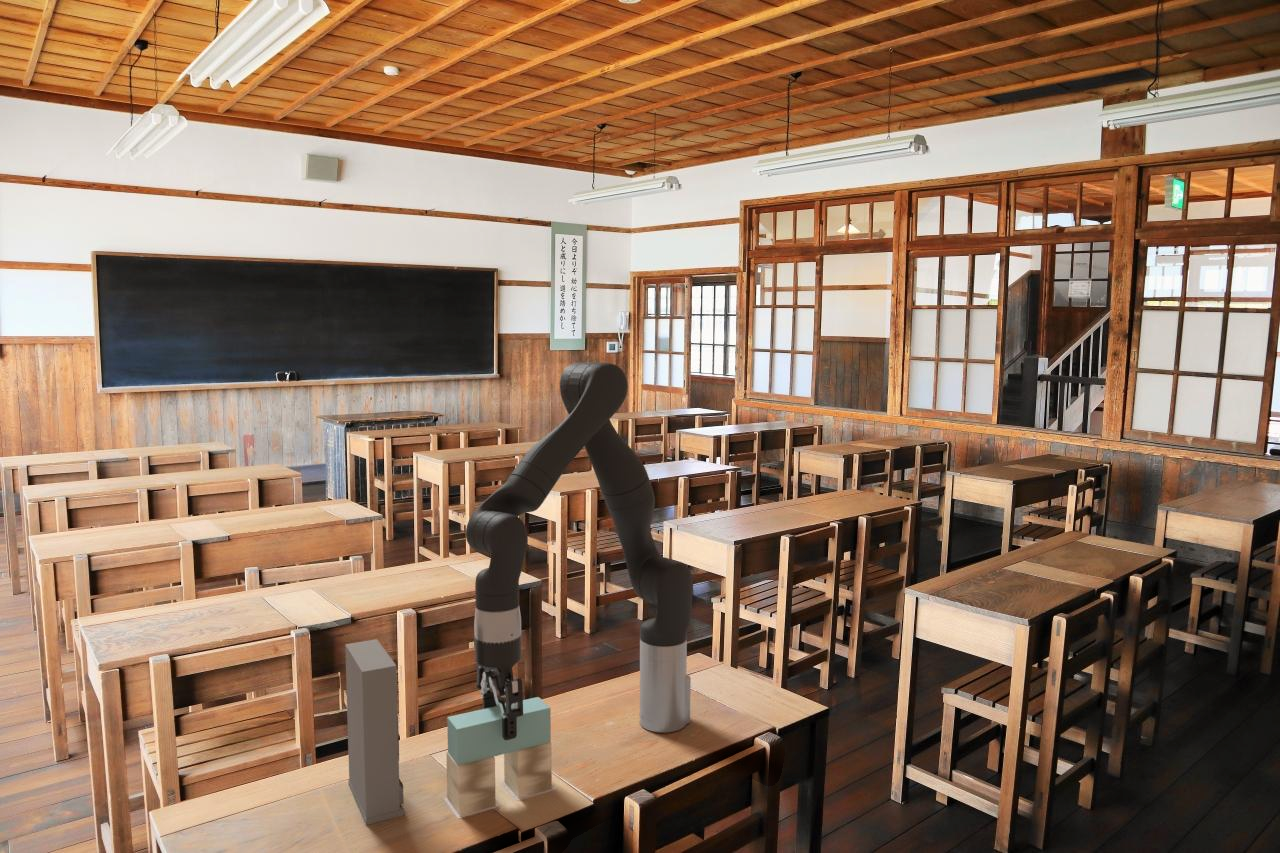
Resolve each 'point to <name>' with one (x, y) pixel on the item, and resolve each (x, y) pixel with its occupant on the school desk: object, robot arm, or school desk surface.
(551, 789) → the thin flat base plate
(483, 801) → the pillar
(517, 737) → the lintel
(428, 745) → the school desk surface
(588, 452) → the robot arm
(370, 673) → the tall grey upright post
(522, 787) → the pillar
